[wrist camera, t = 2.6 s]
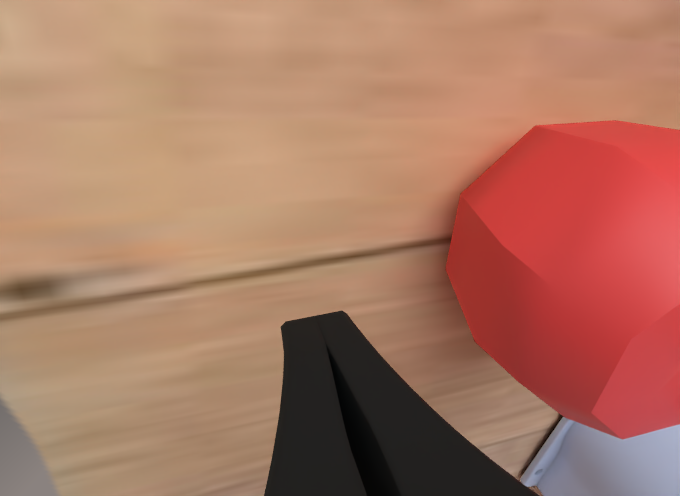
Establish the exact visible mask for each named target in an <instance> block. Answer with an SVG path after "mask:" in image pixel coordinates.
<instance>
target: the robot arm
mask: <svg viewBox="0 0 680 496" xmlns="http://www.w3.org/2000/svg"><path fill="white" fill-rule="evenodd" d="M281 332H282V340H283V348H284V372H283V385H282V395H281V405H280V413H279V420H278V426H277V432H276V438H275V444H274V450H273V456H272V461H271V466H270V471H269V476H268V480H267V485H266V489H265V494H264V496H539V495H538V494H536V493H535V492H533V491H532V490H531V489H529V488H528V487H530V486H535V485H537V487H538V488H539V490H540V492H541V493H542V495H543V496H680V424H679V425H675V426H671V427H668V428H664V429H660V430H656V431H653V432H649V433H645V434H641V435H638V436H634V437H630V438H627V439H623V440H622V439H620V438H617V437H615V436H612V435H609V434H607V433H604V432H601V431H599V430H596V429H594V428H591V427H588V426H586V425H583V424H581V423H578V422H575V421H573V420H570V419H567V418H565V417H562V419H561V420H560V422H559V423H558V425H557V426H556V427H555V429H554V430H553V432H552V433H551V435H550V436H549V438H548V439H547V440H546V442H545V443H544V445H543V446H542V448H541V449H540V451H539V452H538V453H537V455H536V456H535V458H534V459H533V461H532V462H531V464H530V465H529V466H528V468H527V469H526V471H525V472H524V474H523V475H522V477H521V479H520V480H521V482H522V483H521V482H519V481H518V480H517V479H516V478H514V477H513V476H512V475H510V474H509V473H508V472H506V471H505V470H504V469H503V468H501V467H500V466H499V465H497V464H496V463H495V462H494V461H492V460H491V459H490V458H489V457H487V456H486V455H485V454H484V453H482V452H481V451H480V450H479V449H478V448H476V447H475V446H474V445H473V444H472V443H470V442H469V441H468V440H467V439H466V438H464V437H463V436H462V435H461V434H460V433H459V432H457V431H456V430H455V429H454V428H453V427H452V426H451V425H450V424H449V423H447V422H446V421H445V420H444V419H443V418H442V417H441V416H440V415H439V414H438V413H437V412H436V411H434V410H433V409H432V408H431V407H430V406H429V405H428V404H427V403H426V402H425V401H424V400H423V399H422V398H421V397H420V396H419V395H418V394H417V393H416V392H415V391H414V390H413V389H412V388H411V387H410V386H409V385H408V384H407V383H406V382H405V381H404V380H403V379H402V378H401V377H400V376H399V375H398V374H397V373H396V372H395V370H394V369H393V368H392V367H391V366H390V365H389V364H388V363H387V362H386V361H385V360H384V359H383V357H382V356H381V355H380V354H379V353H378V352H377V351H376V349H375V348H374V347H373V346H372V345H371V344H370V342H369V341H368V340H367V339H366V338H365V336H364V335H363V334H362V333H361V332H360V330H359V329H358V328H357V326H356V325H355V324H354V323H353V321H352V320H351V319H350V317H349V316H348V314H346V313H345V312H343V311H338V312H333V313H328V314H323V315H317V316H312V317H307V318H302V319H297V320H292V321H287V322H285V323H284V324H283V325H282V326H281Z"/></svg>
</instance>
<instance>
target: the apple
mask: <svg viewBox="0 0 680 496" xmlns="http://www.w3.org/2000/svg"><path fill="white" fill-rule="evenodd" d="M446 271H447V274H448V276H449V279H450V281H451V284H452V286H453V289H454V291H455V294H456V296H457V298H458V301H459V303H460V306H461V308H462V311H463V313H464V316H465V318H466V321H467V323H468V326H469V328H470V331H471V333H472V336H473V338H474V341H475V342H476V343H477V344H478V345H479V346H480V347H481V348H482V349H483V350H484V351H485V352H487V353H488V354H489V355H490V356H491V357H492V358H493V359H494V360H495V361H496V362H497V363H499V364H500V365H501V366H502V367H503V368H504V369H505V370H506V371H507V372H508V373H509V374H511V375H512V376H513V377H514V378H515V379H516V380H517V381H518V382H519V383H521V384H522V385H523V386H524V387H526V388H527V389H528V390H530V391H531V392H532V393H534V394H535V395H536V396H537V397H539V398H540V399H541V400H543V401H544V402H545V403H547V404H548V405H549V406H550V407H552V408H553V409H554V410H556V411H557V412H558V413H560V414H561V415H562V416H563V417H565V418H567V419H570V420H573V421H575V422H578V423H581V424H583V425H586V426H588V427H591V428H594V429H596V430H599V431H601V432H604V433H607V434H609V435H612V436H615V437H617V438H620V439H622V440H623V439H627V438H630V437H634V436H638V435H641V434H645V433H649V432H653V431H656V430H660V429H664V428H668V427H671V426H675V425H679V424H680V130H676V129H669V128H662V127H655V126H649V125H642V124H636V123H629V122H622V121H616V120H615V121H600V122H584V123H569V124H553V125H538V126H534V127H533V128H532V129H531V130H530V131H529V132H528V133H527V134H526V135H525V136H523V137H522V138H521V139H520V140H519V141H518V142H517V143H516V144H515V145H514V146H512V147H511V148H510V149H509V150H508V151H507V152H506V153H505V154H504V155H503V156H502V157H500V158H499V159H498V160H497V161H496V162H495V163H494V164H493V165H492V166H491V167H490V168H488V169H487V170H486V171H485V172H484V173H483V174H482V175H481V176H480V177H479V178H477V179H476V180H475V181H474V182H473V183H472V184H471V185H470V186H469V187H468V188H467V189H465V190H464V191H463V192H462V193H461V194H460V199H459V204H458V209H457V214H456V219H455V224H454V229H453V234H452V239H451V244H450V249H449V254H448V259H447V264H446Z"/></svg>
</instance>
